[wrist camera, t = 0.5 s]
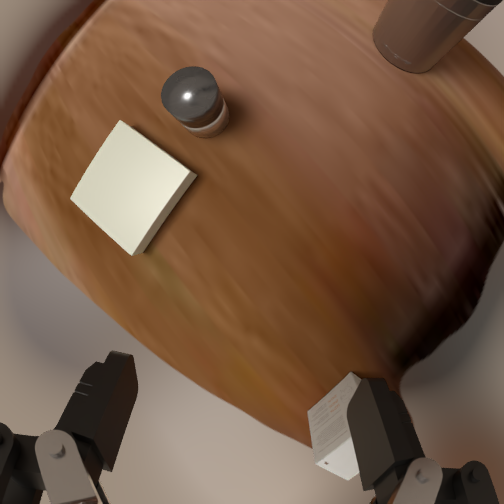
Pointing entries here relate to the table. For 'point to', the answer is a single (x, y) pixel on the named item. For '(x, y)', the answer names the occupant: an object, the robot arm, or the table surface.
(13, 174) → the table surface
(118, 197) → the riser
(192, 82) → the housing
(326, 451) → the small box
